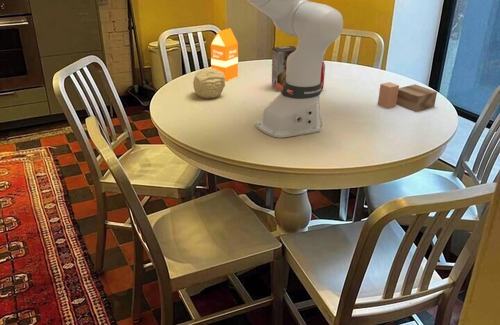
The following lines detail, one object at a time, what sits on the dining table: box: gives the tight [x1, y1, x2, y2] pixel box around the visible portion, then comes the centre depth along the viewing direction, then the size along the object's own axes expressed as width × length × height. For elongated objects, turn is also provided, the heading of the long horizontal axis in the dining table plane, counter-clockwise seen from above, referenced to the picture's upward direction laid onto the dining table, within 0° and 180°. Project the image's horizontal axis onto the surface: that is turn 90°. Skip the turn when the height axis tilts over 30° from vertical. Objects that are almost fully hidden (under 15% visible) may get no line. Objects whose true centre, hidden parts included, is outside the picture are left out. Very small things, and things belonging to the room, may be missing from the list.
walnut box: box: [396, 83, 438, 113], centre depth 176 cm, size 10×10×6 cm
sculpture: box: [192, 68, 226, 99], centre depth 182 cm, size 12×12×11 cm
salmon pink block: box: [377, 81, 400, 110], centre depth 174 cm, size 5×5×8 cm
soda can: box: [320, 59, 326, 91], centre depth 189 cm, size 7×7×12 cm
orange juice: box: [210, 28, 239, 82], centre depth 201 cm, size 8×9×20 cm
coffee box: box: [271, 45, 297, 92], centre depth 190 cm, size 9×6×16 cm
